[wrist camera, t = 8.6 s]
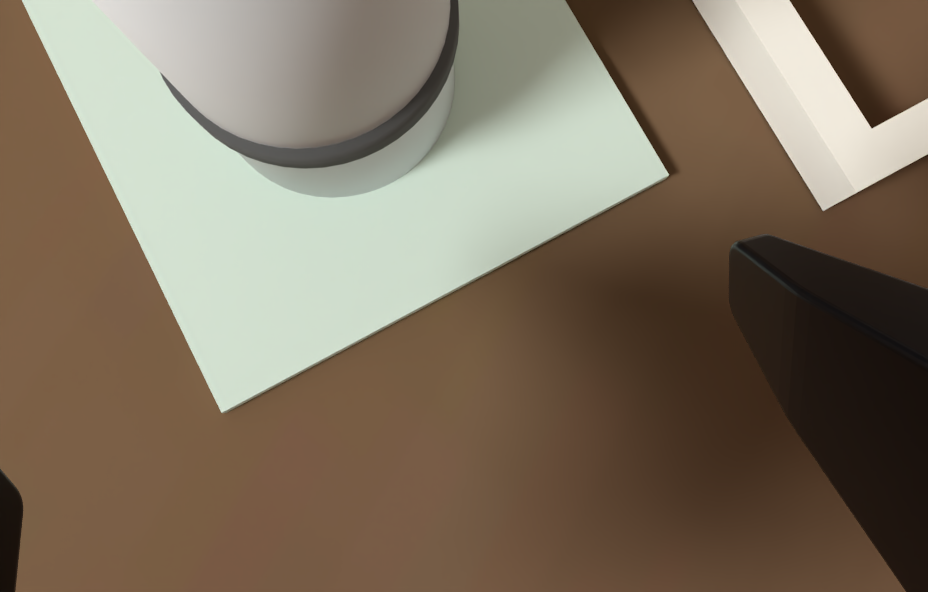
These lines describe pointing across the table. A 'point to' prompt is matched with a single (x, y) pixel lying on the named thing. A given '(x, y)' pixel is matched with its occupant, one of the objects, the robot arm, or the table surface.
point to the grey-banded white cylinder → (307, 81)
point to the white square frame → (811, 100)
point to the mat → (355, 217)
